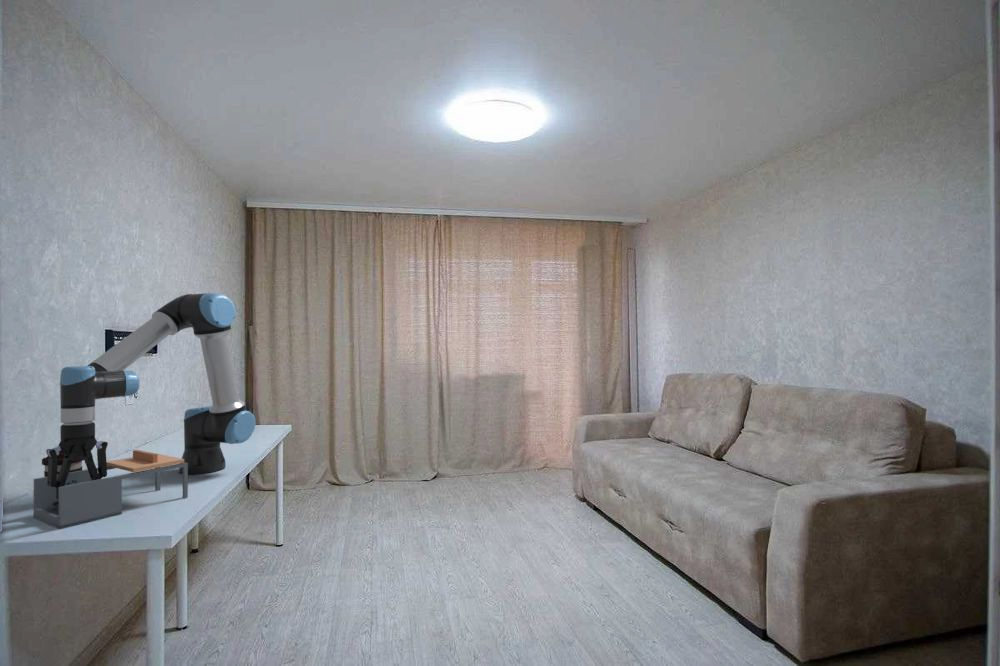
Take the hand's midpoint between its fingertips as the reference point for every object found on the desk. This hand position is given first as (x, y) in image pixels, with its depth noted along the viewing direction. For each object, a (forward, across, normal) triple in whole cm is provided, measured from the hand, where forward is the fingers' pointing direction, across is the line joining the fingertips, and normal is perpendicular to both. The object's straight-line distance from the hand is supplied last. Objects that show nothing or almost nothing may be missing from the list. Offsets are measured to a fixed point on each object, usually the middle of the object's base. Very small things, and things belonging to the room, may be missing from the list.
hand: (78, 507), depth 150 cm
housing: (+2, -9, 0) cm, 9 cm away
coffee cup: (+2, -4, -19) cm, 19 cm away
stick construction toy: (-1, 0, -4) cm, 4 cm away
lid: (-9, -17, 0) cm, 19 cm away
